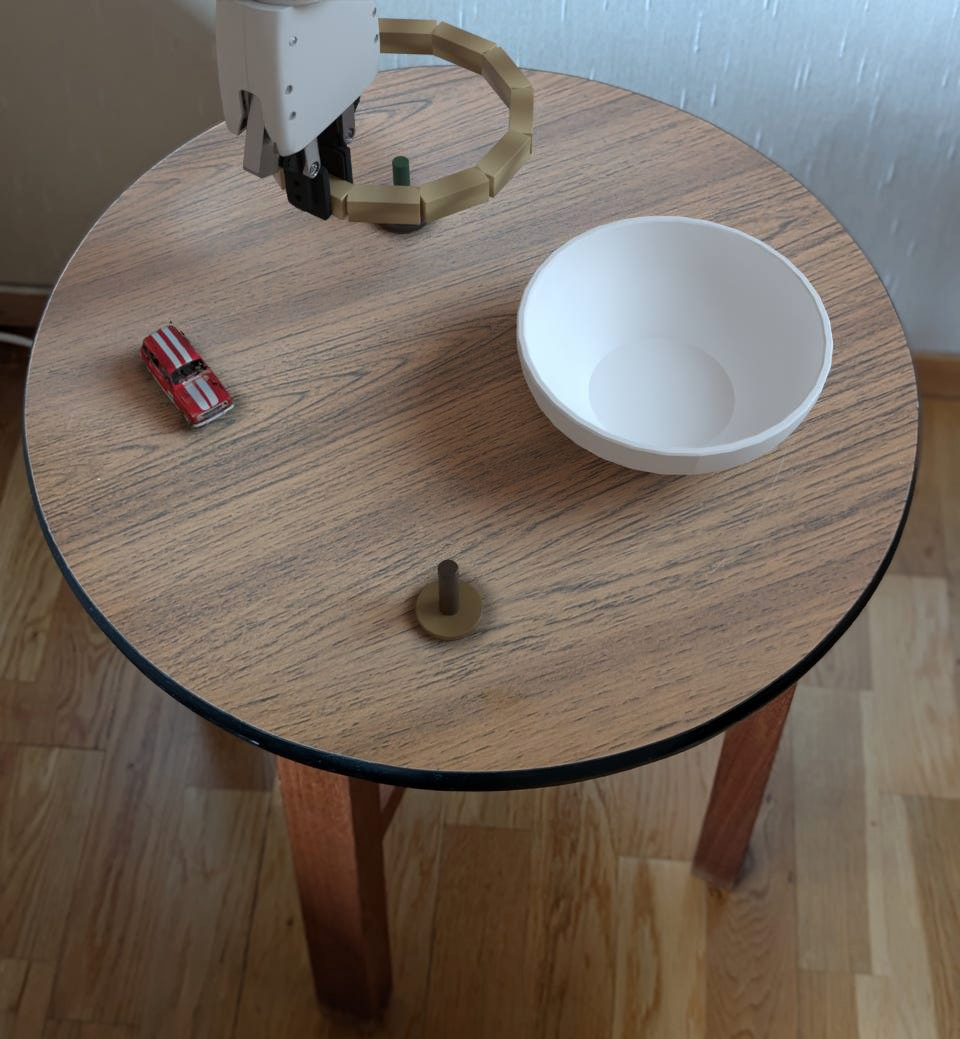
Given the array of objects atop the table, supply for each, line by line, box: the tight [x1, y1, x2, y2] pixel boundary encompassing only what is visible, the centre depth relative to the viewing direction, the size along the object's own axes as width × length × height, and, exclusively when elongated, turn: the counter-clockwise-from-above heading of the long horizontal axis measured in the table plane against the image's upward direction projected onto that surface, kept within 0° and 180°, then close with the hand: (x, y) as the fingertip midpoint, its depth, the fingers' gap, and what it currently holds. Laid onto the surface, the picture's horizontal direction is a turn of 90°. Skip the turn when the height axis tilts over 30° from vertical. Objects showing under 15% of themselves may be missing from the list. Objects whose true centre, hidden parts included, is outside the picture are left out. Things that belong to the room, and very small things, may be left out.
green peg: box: [379, 155, 428, 234], centre depth 96 cm, size 4×4×5 cm
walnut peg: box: [415, 558, 484, 641], centre depth 78 cm, size 4×4×5 cm
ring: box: [271, 17, 535, 225], centre depth 90 cm, size 19×19×2 cm
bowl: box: [516, 215, 834, 476], centre depth 85 cm, size 20×20×7 cm
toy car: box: [139, 320, 235, 429], centre depth 88 cm, size 4×8×3 cm, turn 36°
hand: (321, 198), depth 86 cm, fingers closed on ring, 1 cm apart
